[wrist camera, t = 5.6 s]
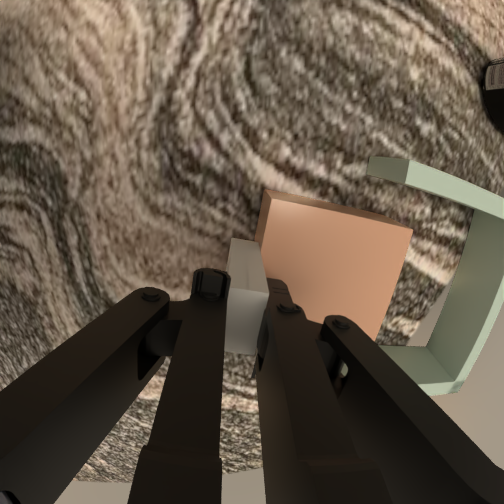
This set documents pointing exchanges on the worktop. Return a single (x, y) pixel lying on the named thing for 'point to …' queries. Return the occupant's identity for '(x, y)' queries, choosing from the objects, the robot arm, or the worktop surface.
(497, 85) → the beverage can
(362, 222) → the orange block
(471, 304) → the green u-shaped bracket
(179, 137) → the worktop surface
